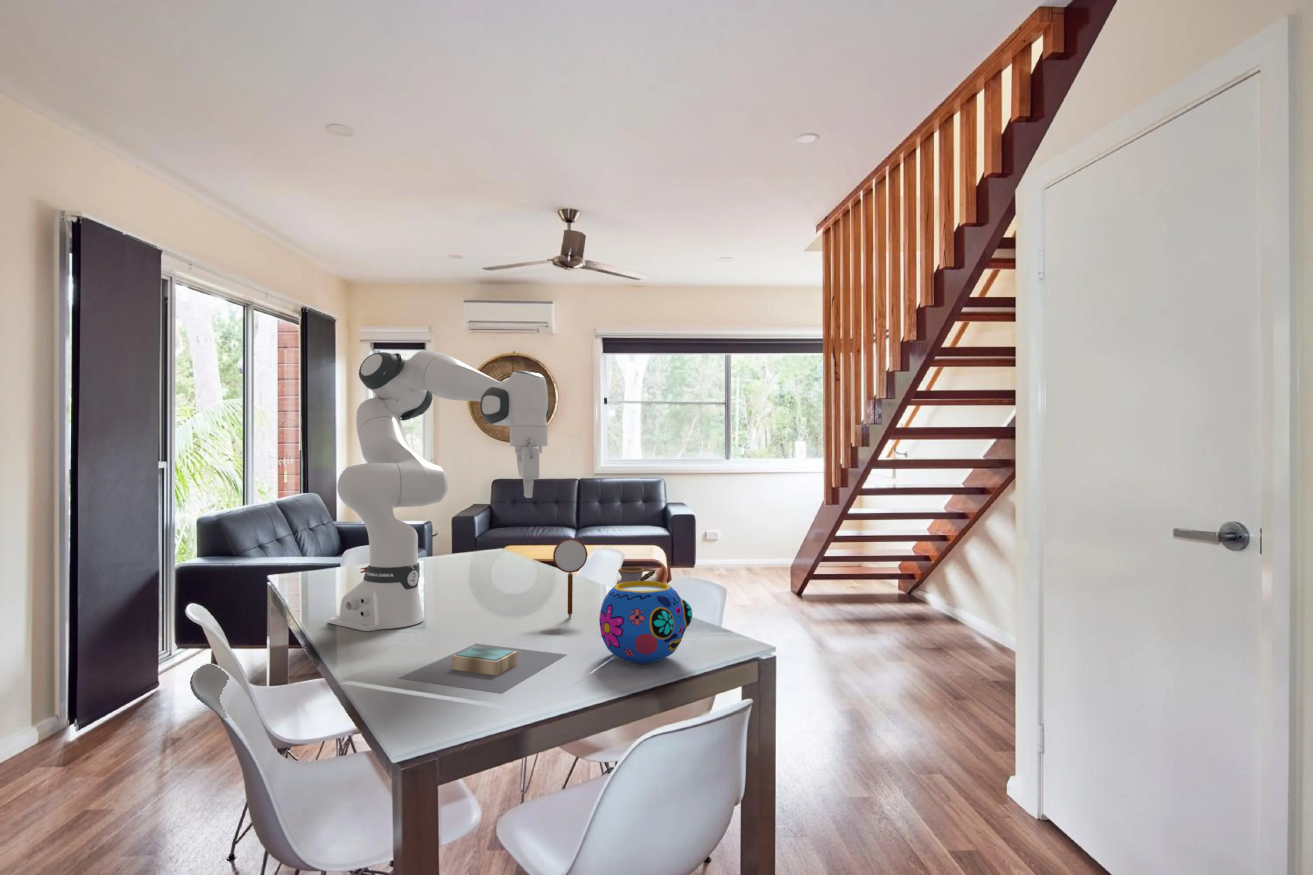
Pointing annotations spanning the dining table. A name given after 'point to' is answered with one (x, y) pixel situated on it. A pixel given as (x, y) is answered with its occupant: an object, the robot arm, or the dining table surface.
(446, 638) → the dining table surface
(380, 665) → the dining table surface
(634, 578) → the coffee pot
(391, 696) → the dining table surface
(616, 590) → the ceramic pot
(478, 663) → the birch tile
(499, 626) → the dining table surface
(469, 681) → the rubber mat
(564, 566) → the magnifying glass
